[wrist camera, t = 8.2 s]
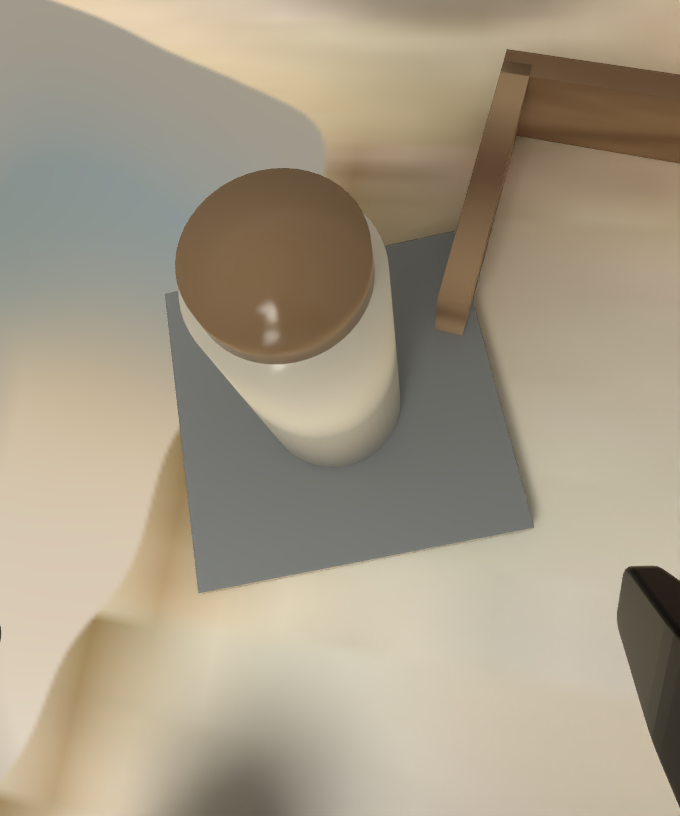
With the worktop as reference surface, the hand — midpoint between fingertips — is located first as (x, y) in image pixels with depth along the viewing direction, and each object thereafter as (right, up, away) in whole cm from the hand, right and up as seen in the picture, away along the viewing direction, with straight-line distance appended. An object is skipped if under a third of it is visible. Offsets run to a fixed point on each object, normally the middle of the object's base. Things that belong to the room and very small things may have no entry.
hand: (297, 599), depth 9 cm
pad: (0, +3, +14) cm, 14 cm away
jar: (0, +3, +13) cm, 14 cm away
